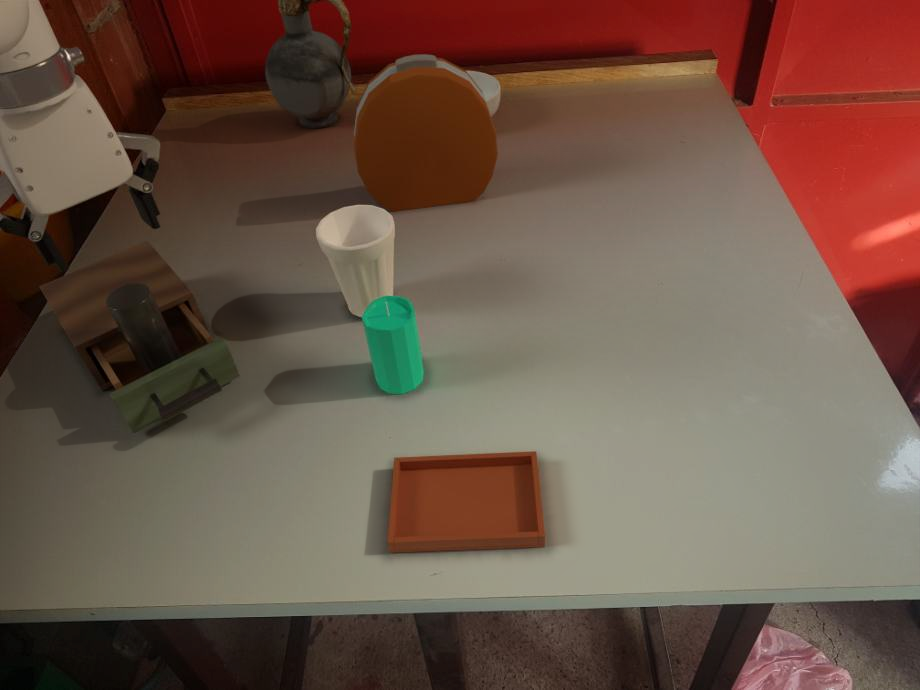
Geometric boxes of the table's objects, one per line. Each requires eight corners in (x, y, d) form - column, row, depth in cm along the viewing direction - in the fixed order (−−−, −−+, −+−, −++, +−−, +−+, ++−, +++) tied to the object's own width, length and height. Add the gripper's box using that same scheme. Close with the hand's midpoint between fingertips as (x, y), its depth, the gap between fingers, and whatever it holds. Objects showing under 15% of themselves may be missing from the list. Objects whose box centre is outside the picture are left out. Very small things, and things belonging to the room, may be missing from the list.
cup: (367, 339, 91) (349, 259, 82) (320, 308, 96) (299, 229, 87) (421, 301, 96) (410, 221, 87) (374, 273, 101) (359, 195, 92)
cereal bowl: (491, 146, 126) (490, 108, 122) (404, 141, 130) (400, 105, 125) (508, 104, 138) (508, 69, 133) (428, 102, 142) (425, 67, 137)
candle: (405, 352, 89) (392, 278, 80) (434, 377, 85) (423, 302, 77) (366, 375, 86) (349, 301, 78) (394, 402, 83) (379, 327, 74)
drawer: (256, 395, 84) (242, 360, 80) (147, 456, 78) (126, 422, 74) (193, 319, 95) (178, 285, 91) (94, 367, 89) (73, 334, 85)
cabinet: (211, 336, 93) (191, 291, 88) (102, 391, 87) (74, 346, 82) (167, 283, 103) (147, 240, 97) (65, 329, 97) (38, 286, 91)
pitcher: (301, 104, 145) (263, -57, 125) (380, 115, 139) (354, -52, 118) (270, 127, 138) (225, -39, 118) (352, 140, 132) (320, -33, 111)
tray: (389, 552, 68) (387, 542, 67) (396, 468, 76) (394, 457, 74) (544, 546, 67) (545, 536, 66) (536, 461, 75) (536, 451, 74)
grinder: (154, 390, 84) (113, 316, 76) (140, 369, 87) (99, 295, 78) (192, 371, 86) (156, 296, 78) (177, 351, 89) (140, 277, 80)
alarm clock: (490, 168, 121) (485, 34, 105) (499, 198, 114) (495, 59, 98) (364, 183, 120) (339, 51, 104) (365, 214, 113) (339, 77, 97)
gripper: (104, 38, 65) (169, 196, 77) (-98, 102, 57) (9, 268, 69) (138, 57, 61) (201, 221, 73) (-75, 129, 53) (35, 300, 65)
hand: (107, 244), depth 71 cm, fingers open, 9 cm apart
